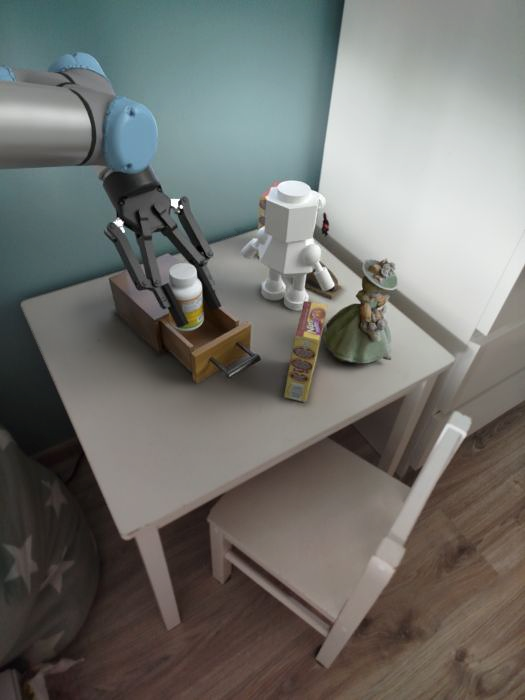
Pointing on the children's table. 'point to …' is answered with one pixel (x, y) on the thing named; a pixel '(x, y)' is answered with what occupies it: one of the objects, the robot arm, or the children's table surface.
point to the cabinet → (142, 303)
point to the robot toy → (290, 243)
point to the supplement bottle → (187, 294)
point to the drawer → (210, 344)
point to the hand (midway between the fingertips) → (199, 316)
